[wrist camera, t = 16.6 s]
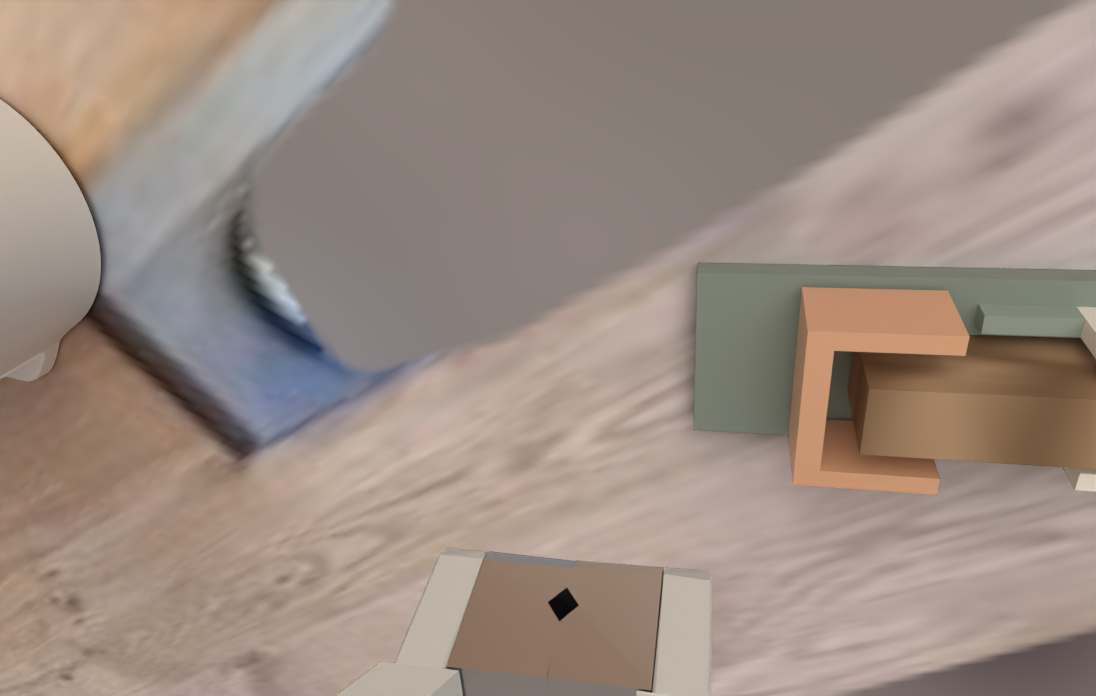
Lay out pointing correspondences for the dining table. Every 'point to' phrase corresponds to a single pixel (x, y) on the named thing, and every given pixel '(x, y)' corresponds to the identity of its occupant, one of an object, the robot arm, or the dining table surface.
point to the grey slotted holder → (770, 349)
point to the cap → (861, 326)
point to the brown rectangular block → (980, 403)
